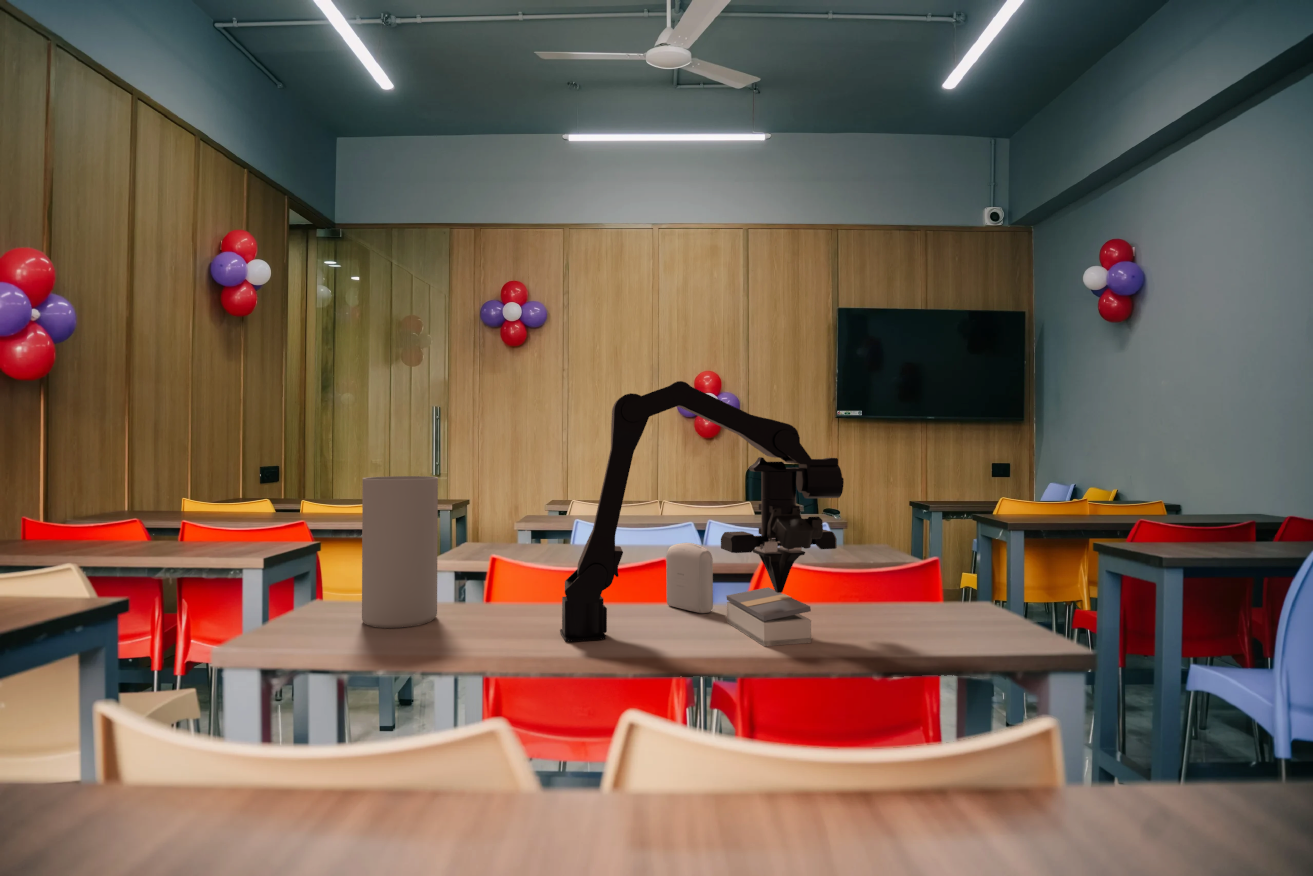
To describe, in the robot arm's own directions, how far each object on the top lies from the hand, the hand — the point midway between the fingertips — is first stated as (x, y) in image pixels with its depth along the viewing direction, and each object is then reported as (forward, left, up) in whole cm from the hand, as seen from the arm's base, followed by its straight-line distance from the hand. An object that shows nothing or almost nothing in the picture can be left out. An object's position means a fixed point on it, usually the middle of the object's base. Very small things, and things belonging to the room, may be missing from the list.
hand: (778, 592), depth 127 cm
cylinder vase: (-61, +24, -7) cm, 66 cm away
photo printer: (-9, +20, -7) cm, 23 cm away
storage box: (-2, 0, -7) cm, 7 cm away
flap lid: (-2, 0, -2) cm, 3 cm away
